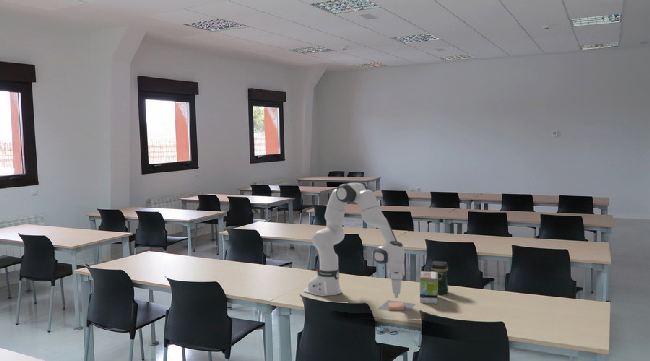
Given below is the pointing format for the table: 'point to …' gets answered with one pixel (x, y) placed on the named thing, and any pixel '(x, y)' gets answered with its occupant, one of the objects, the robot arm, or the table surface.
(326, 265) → the robot arm
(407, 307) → the mat
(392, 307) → the tile
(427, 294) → the tea box
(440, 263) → the coffee jar
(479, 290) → the table surface
